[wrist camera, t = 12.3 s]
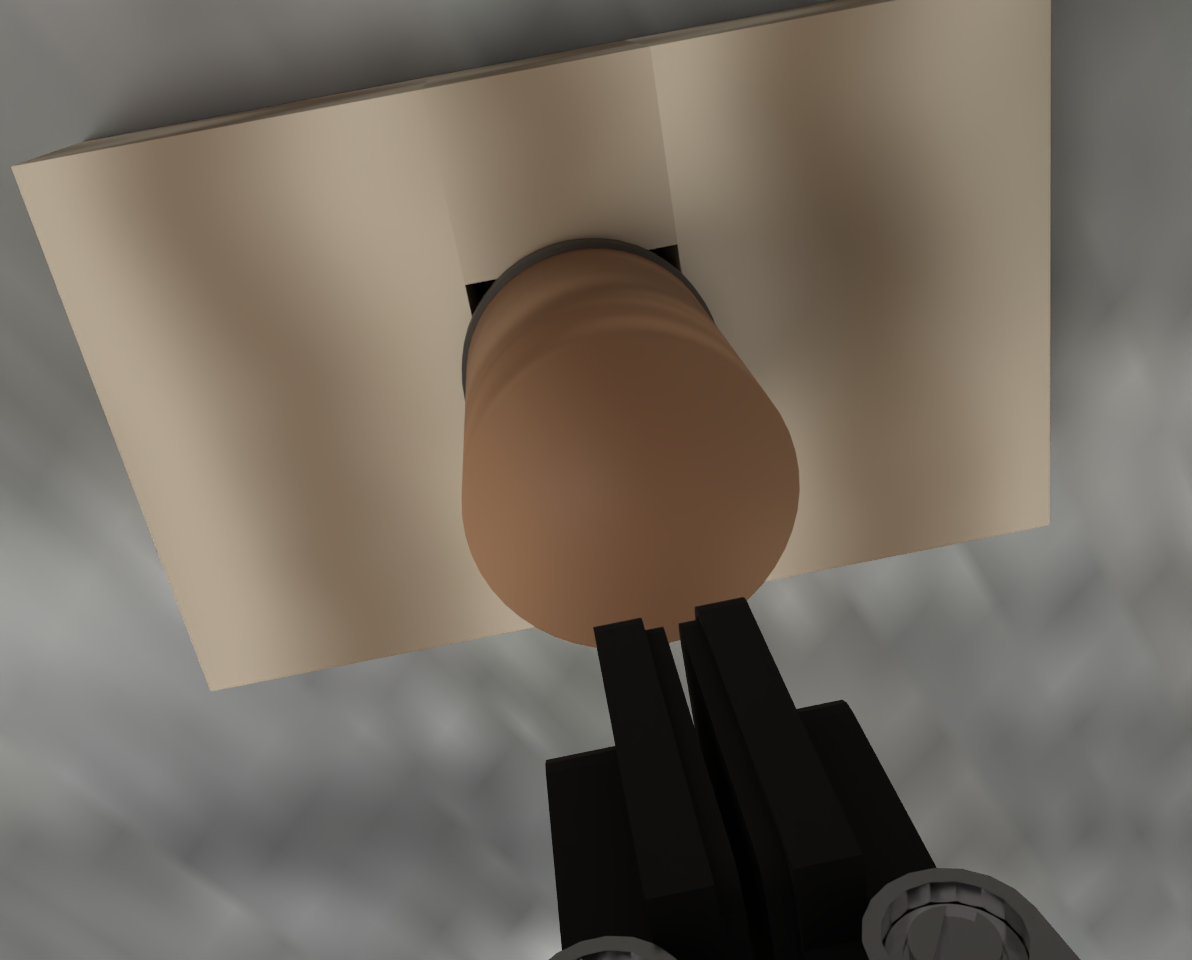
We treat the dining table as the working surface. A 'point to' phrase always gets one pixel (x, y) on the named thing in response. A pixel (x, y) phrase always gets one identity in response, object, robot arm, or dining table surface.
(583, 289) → the peg
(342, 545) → the board
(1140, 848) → the dining table surface
